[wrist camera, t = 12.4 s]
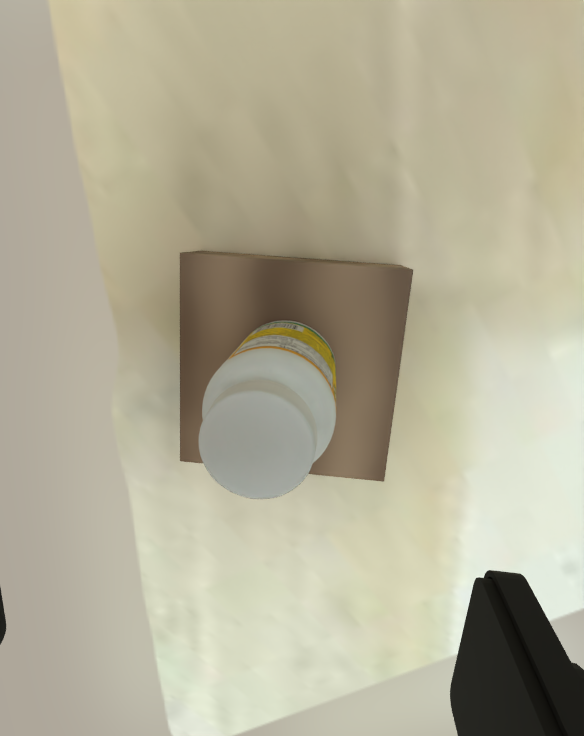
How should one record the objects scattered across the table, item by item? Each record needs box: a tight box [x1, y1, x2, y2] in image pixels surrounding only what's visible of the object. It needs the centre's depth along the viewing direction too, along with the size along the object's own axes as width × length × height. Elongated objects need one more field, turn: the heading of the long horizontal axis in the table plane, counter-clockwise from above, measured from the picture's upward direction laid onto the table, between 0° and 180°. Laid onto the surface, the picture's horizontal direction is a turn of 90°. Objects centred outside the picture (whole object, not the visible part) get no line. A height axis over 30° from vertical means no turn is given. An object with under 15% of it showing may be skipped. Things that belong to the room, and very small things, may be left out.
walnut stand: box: [180, 251, 413, 481], centre depth 27 cm, size 12×12×4 cm
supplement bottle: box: [199, 320, 337, 499], centre depth 20 cm, size 6×6×10 cm
